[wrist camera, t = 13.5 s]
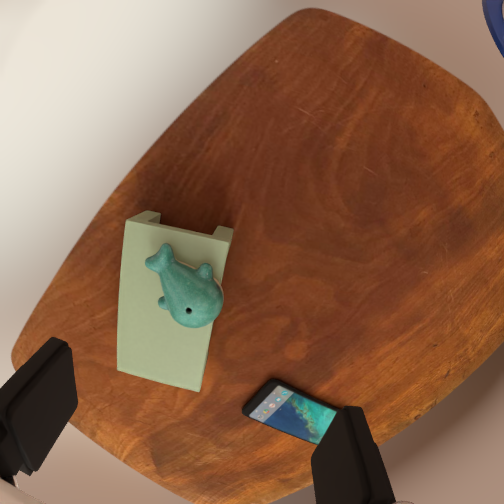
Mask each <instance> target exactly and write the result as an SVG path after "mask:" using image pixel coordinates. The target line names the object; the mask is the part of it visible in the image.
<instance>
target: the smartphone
mask: <svg viewBox="0 0 504 504" xmlns="http://www.w3.org/2000/svg"><path fill="white" fill-rule="evenodd" d="M338 410H339V409H338V408H336V407H334V406H331V405H329V404H327V403H325V402H322V401H320V400H318V399H316V398H314V397H312V396H310V395H307V394H305V393H303V392H301V391H299V390H297V389H295V388H293V387H291V386H289V385H287V384H285V383H283V382H281V381H279V380H276V379H272V380H269V381H268V382H267V383H266V384H265V385H264V386H263V387H262V389H261V390H260V391H259V392H258V393H257V394H256V395H255V396H254V397H253V398H252V399H251V400H250V401H249V402H248V403H247V404H246V405H245V406H244V407H243V409H242V414H243V415H245V416H247V417H249V418H251V419H254V420H256V421H258V422H260V423H263V424H265V425H267V426H270V427H272V428H275V429H277V430H279V431H282V432H284V433H287V434H289V435H292V436H295V437H297V438H300V439H302V440H305V441H308V442H311V443H313V444H316V445H318V444H319V442H320V441H321V439H322V437H323V435H324V434H325V432H326V430H327V429H328V427H329V425H330V423H331V421H332V420H333V418H334V416H335V414H336V412H337V411H338Z"/></svg>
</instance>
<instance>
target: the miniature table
mask: <svg viewBox="0 0 504 504" xmlns="http://www.w3.org/2000/svg"><path fill="white" fill-rule="evenodd" d="M160 217H161V213H157V212H153V211H148V210H146V211H144V212H142V213H140V214H138V215H136V216H134V217H132V218H129V219H127V220H126V224H125V232H124V241H123V251H122V261H121V273H120V287H119V303H118V328H117V370H119V371H123V372H126V373H129V374H132V375H136V376H139V377H143V378H146V379H150V380H153V381H157V382H161V383H164V384H168V385H172V386H176V387H180V388H184V389H189V390H193V391H197V392H200V388H201V384H202V380H203V375H204V371H205V367H206V363H207V358H208V347H209V342H210V337H211V332H212V326H213V321H212V322H211V323H210V324H208V325H206V326H204V327H200V328H188V327H184V326H182V325H180V324H179V323H177V322H176V321H175V320H174V319H173V318H172V316H171V314H170V312H169V311H168V310H165V309H162V308H160V307H159V305H158V300H159V298H160V297H162V296H164V293H163V290H162V286H161V282H160V277H159V275H158V273H156V272H154V271H152V270H150V269H148V268H147V267H146V265H145V260H146V258H148V257H150V256H153V255H154V254H156V253H157V252H158V251H159V249H160V247H161V246H162V244H164V243H169V244H170V245H171V246H172V249H173V252H174V257H175V258H176V259H177V260H178V261H181V262H183V263H186V264H188V265H191V266H193V267H195V268H197V269H198V268H199V267H200V265H201V264H202V263H206V262H207V263H209V264H211V265H212V268H213V277H214V278H215V279H217V280H218V282H219V283H220V285H221V282H222V277H223V272H224V267H225V263H226V258H227V254H228V251H229V248H230V245H231V240H232V236H233V231H234V229H232V228H227V227H223V226H217V228H216V230H215V231H214V233H213V235H208V234H203V233H199V232H194V231H190V230H185V229H180V228H176V227H171V226H167V225H162V224H160Z"/></svg>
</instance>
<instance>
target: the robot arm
mask: <svg viewBox="0 0 504 504" xmlns="http://www.w3.org/2000/svg"><path fill="white" fill-rule="evenodd" d="M502 15H503V19H504V2H503V4H502ZM77 405H78V398H77V391H76V384H75V376H74V368H73V358H72V350H71V348H70V347H69V346H68V343H67V342H65V341H63V340H60V339H58V338H55V337H51V338H50V339H49V340H48V341H47V342H46V343H45V344H44V345H43V346H42V347H41V348H40V349H39V350H38V351H37V352H36V353H35V354H34V355H33V356H32V357H31V358H30V359H29V360H28V361H27V362H26V363H25V364H24V365H22V366H21V367H20V368H19V369H18V370H17V371H16V372H15V374H14V375H13V376H12V377H11V378H10V379H9V380H8V381H7V382H6V383H5V384H4V385H3V386H2V387H1V388H0V504H45V503H43V502H42V501H39V500H38V499H36V498H34V497H32V496H30V495H28V494H26V493H25V492H23V491H21V490H19V487H18V483H17V479H16V475H17V473H18V471H19V470H20V471H22V472H24V473H25V474H27V475H29V476H31V474H32V472H33V471H35V472H36V471H38V470H39V468H40V466H41V465H42V463H43V461H44V460H45V458H46V456H47V455H48V453H49V451H50V450H51V448H52V447H53V445H54V443H55V442H56V440H57V438H58V437H59V435H60V433H61V432H62V430H63V429H64V427H65V425H66V424H67V422H68V421H69V419H70V418H71V416H72V415H73V413H74V411H75V410H76V408H77ZM311 467H312V475H313V482H314V489H315V497H316V504H414V503H412V502H408V501H398V502H396V500H395V497H394V494H393V491H392V488H391V484H390V481H389V478H388V475H387V472H386V469H385V467H384V463H383V461H382V458H381V455H380V452H379V449H378V446H377V445H376V443H375V442H374V441H373V438H372V435H371V432H370V429H369V426H368V424H367V421H366V418H365V415H364V412H363V410H362V408H361V407H357V406H344V407H343V408H342V409H339V410H338V411H337V412H336V414H335V416H334V418H333V420H332V421H331V423H330V425H329V427H328V429H327V430H326V432H325V434H324V435H323V437H322V439H321V441H320V442H319V444H318V446H317V447H316V449H315V451H314V452H313V454H312V457H311Z"/></svg>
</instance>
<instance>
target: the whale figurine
mask: <svg viewBox="0 0 504 504" xmlns="http://www.w3.org/2000/svg"><path fill="white" fill-rule="evenodd" d="M145 265H146V267H147V268H148V269H150V270H152V271H154V272H156V273H158V275H159V277H160V282H161V286H162V290H163V293H164V296H162V297H160V298H159V300H158V305H159V307H160V308H162V309H165V310H168V311H169V312H170V314H171V316H172V318H173V319H174V320H175V321H176V322H177V323H179V324H180V325H182V326H184V327H188V328H200V327H204V326H206V325H208V324H210V323H211V322H212V321H214V320H215V319H216V317H217V316H218V315H219V313H220V311H221V309H222V306H223V301H224V294H223V290H222V287H221V285H220V283H219V282H218V280H217V279H215V278H214V277H213V268H212V265H211V264H209V263H207V262H206V263H202V264H201V265H200V267H199V268H198V269H197V268H195V267H193V266H191V265H188V264H186V263H183V262H181V261H178V260H177V259H176V258H175V257H174V252H173V249H172V246H171V245H170V244H169V243H164V244H162V246H161V247H160V249H159V251H158V252H157V253H156V254H154V255H153V256H150V257H148V258H146V260H145Z"/></svg>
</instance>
